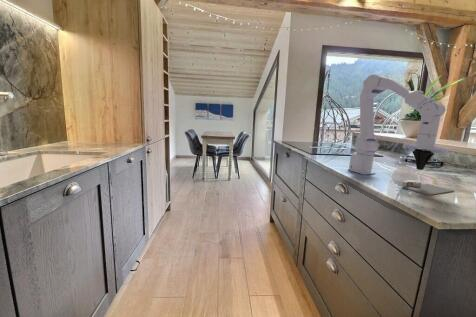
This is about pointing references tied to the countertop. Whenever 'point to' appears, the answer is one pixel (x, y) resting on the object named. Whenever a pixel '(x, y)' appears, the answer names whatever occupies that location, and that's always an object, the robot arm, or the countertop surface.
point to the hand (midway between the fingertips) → (419, 169)
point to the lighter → (411, 183)
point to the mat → (428, 189)
